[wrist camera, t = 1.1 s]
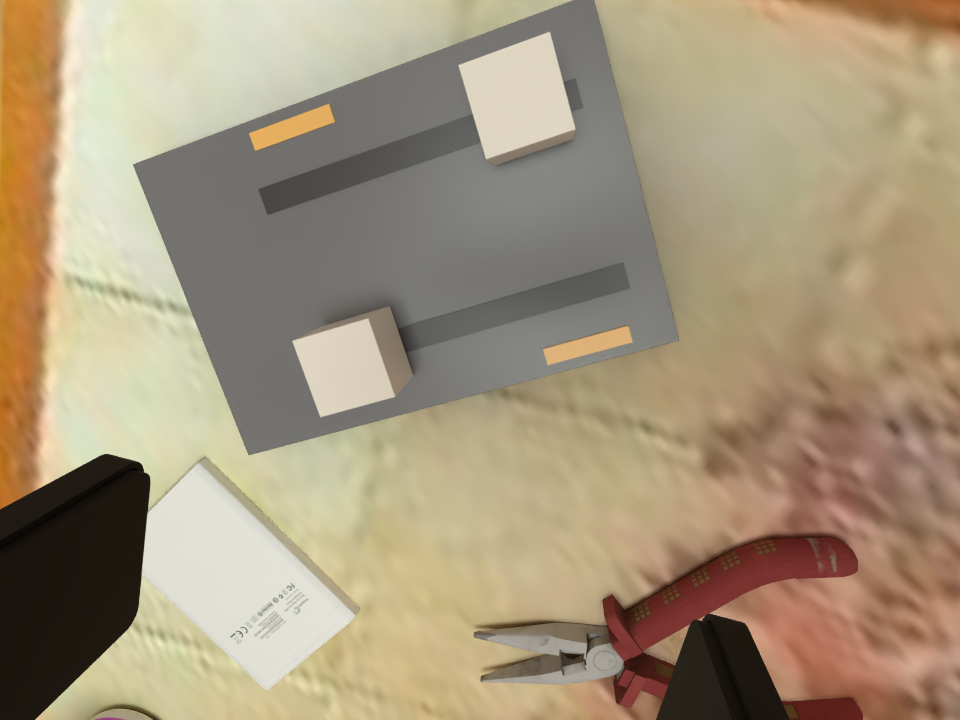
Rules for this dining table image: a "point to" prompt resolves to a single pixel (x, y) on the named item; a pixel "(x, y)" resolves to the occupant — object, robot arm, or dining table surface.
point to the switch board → (413, 236)
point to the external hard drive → (240, 576)
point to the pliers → (672, 625)
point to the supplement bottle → (120, 715)
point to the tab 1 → (354, 361)
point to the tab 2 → (518, 100)
